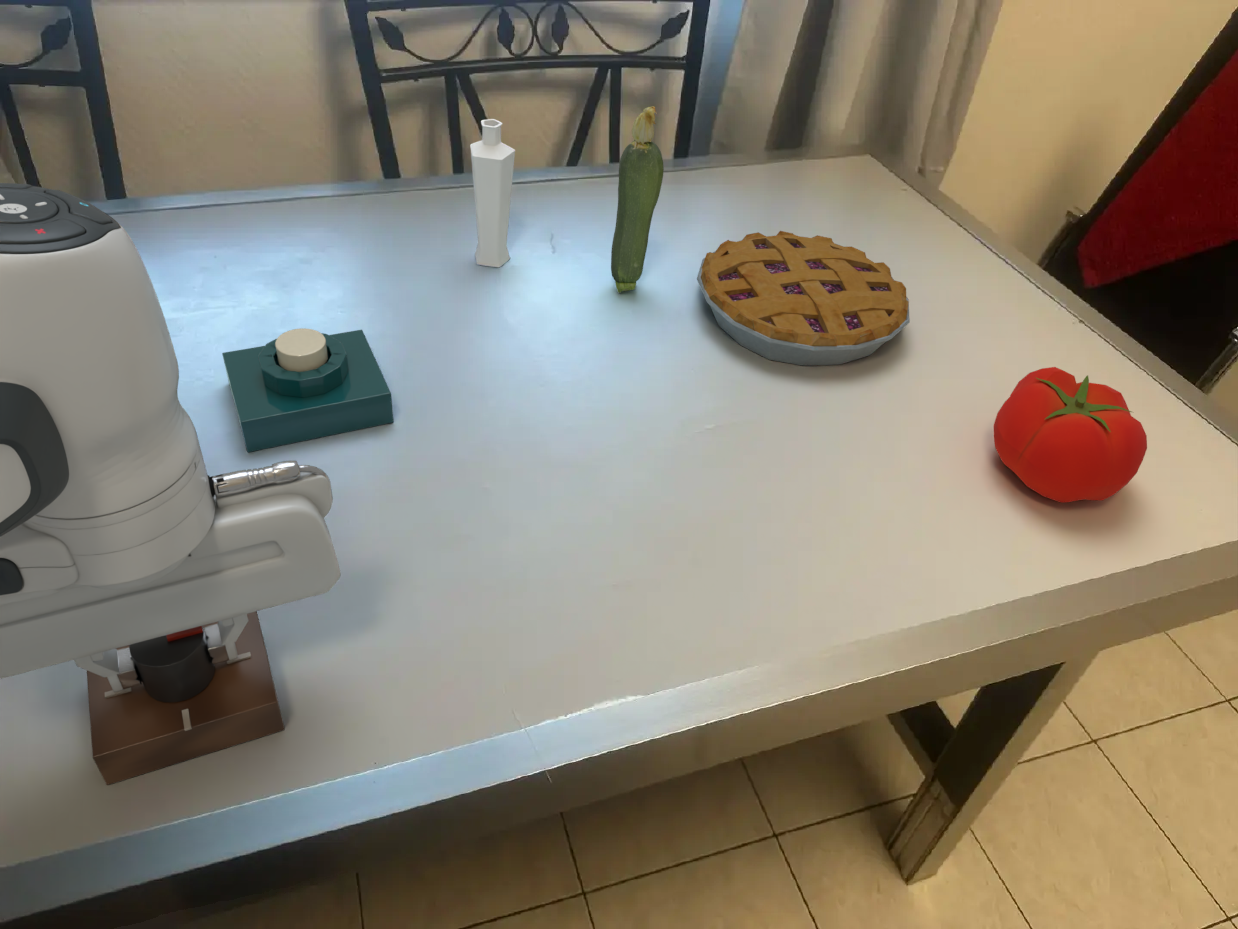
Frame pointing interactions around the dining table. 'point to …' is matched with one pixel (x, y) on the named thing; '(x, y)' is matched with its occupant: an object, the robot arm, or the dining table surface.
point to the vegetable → (636, 201)
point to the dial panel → (184, 714)
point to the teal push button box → (307, 393)
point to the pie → (802, 298)
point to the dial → (174, 665)
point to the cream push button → (301, 350)
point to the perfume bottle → (492, 193)
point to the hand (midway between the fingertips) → (176, 666)
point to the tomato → (1069, 437)
